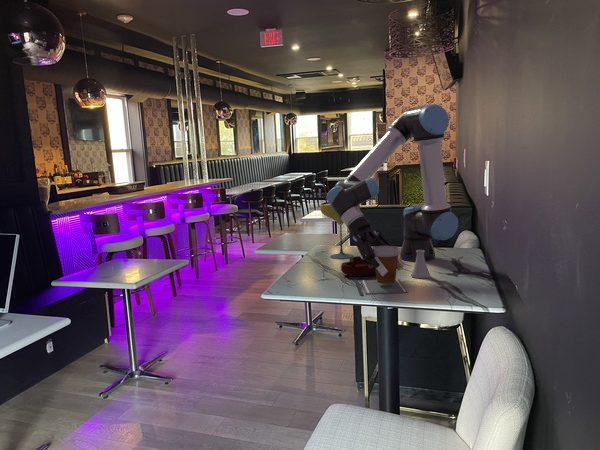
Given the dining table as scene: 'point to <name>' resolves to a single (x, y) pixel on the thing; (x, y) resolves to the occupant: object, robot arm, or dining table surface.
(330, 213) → the cocktail glass
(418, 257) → the flask
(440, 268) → the dining table surface
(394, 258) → the disposable coffee cup
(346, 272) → the ashtray
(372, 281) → the mat
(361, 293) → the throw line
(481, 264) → the dining table surface
